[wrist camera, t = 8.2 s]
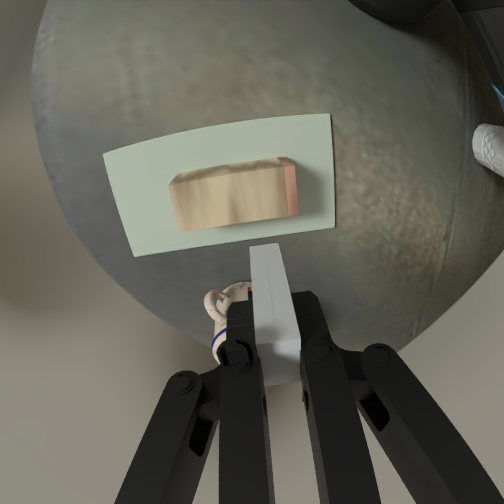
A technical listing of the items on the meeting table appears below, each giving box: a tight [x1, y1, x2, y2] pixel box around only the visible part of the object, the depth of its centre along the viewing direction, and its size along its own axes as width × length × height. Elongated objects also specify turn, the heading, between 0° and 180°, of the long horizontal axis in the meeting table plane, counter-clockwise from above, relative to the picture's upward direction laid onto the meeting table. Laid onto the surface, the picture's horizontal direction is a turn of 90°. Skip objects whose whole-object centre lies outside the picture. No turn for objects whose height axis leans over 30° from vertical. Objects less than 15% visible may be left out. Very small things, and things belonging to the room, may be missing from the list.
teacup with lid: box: [204, 281, 253, 364], centre depth 34 cm, size 12×9×12 cm
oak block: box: [168, 156, 299, 232], centre depth 28 cm, size 5×5×12 cm
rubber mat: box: [103, 114, 335, 257], centre depth 30 cm, size 26×14×1 cm, turn 98°
